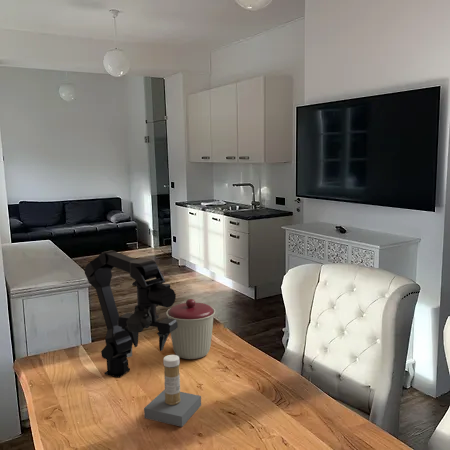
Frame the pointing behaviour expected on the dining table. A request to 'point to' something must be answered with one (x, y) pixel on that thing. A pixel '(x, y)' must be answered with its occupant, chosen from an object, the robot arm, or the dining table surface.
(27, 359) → the dining table surface
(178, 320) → the canister
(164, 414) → the podium
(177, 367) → the sprinkles bottle
